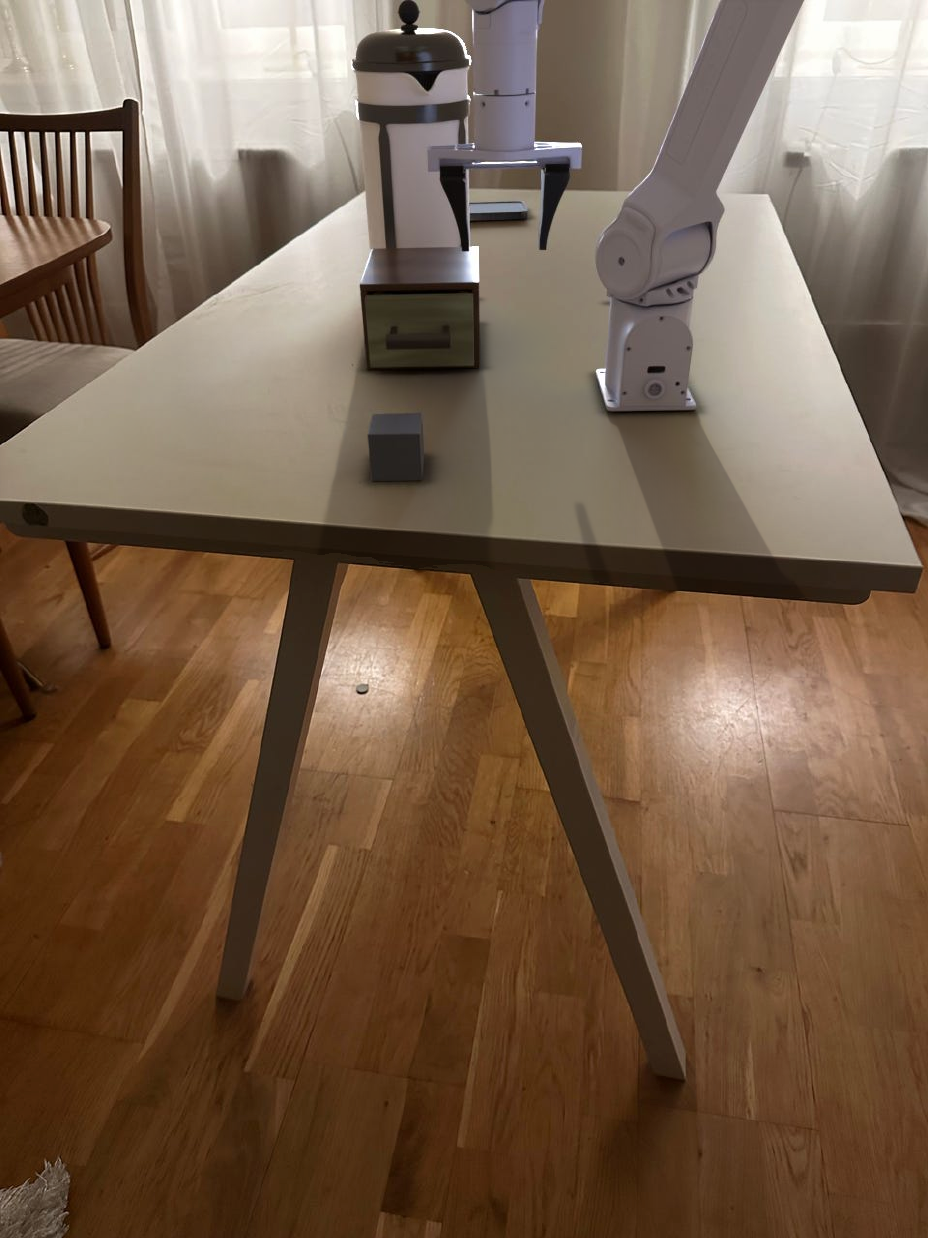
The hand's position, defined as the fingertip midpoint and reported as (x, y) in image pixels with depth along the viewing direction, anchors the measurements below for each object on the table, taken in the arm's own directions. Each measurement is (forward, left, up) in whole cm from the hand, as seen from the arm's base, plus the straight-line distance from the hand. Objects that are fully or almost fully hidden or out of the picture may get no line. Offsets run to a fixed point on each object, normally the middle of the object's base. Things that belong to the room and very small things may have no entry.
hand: (503, 248), depth 91 cm
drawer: (-5, +8, -9) cm, 13 cm away
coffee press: (+20, +10, -10) cm, 24 cm away
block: (-29, +9, -10) cm, 32 cm away
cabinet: (0, +8, -10) cm, 13 cm away
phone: (+61, +2, -10) cm, 61 cm away
